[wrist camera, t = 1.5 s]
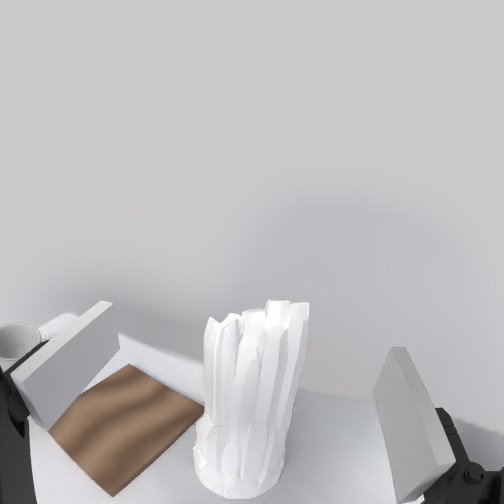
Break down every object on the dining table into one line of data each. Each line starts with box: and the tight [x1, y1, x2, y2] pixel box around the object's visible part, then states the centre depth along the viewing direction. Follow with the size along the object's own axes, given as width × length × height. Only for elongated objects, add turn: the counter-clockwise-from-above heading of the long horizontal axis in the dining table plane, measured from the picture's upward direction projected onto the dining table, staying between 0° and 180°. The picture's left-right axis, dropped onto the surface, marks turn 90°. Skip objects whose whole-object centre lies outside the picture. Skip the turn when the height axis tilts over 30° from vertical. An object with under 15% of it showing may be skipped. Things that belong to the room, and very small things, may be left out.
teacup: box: [0, 323, 42, 372], centre depth 32 cm, size 14×11×8 cm
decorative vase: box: [193, 299, 309, 499], centre depth 25 cm, size 11×11×25 cm
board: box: [48, 364, 205, 497], centre depth 32 cm, size 16×20×1 cm
